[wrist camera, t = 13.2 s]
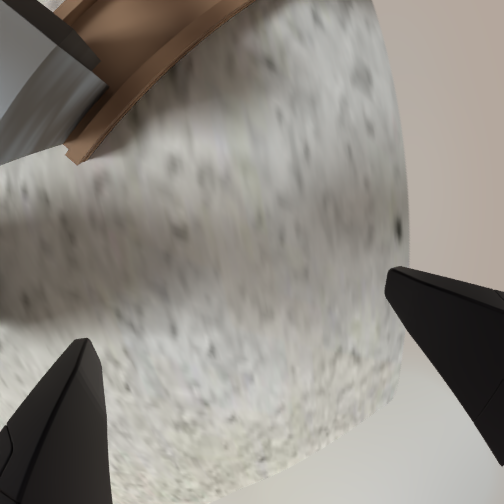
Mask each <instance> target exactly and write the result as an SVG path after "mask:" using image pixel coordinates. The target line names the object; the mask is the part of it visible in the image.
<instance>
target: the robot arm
mask: <svg viewBox="0 0 504 504" xmlns="http://www.w3.org/2000/svg"><path fill="white" fill-rule="evenodd" d="M385 297H386V299H387V300H388V302H389V303H390V305H391V306H392V308H393V309H394V311H395V312H396V314H397V316H398V317H399V319H400V320H401V322H402V323H403V325H404V326H405V328H406V330H407V331H408V332H409V334H410V335H411V336H412V338H413V339H414V340H415V342H416V343H417V344H418V346H419V347H420V348H421V349H422V351H423V352H424V353H425V355H426V356H427V357H428V359H429V360H430V362H431V363H432V364H433V366H434V367H435V368H436V370H437V371H438V372H439V374H440V375H441V377H442V378H443V379H444V381H445V382H446V383H447V385H448V386H449V388H450V389H451V390H452V392H453V393H454V395H455V396H456V397H457V399H458V400H459V402H460V403H461V405H462V406H463V408H464V409H465V411H466V412H467V414H468V415H469V417H470V418H471V420H472V421H473V422H474V424H475V426H476V427H477V429H478V430H479V432H480V434H481V435H482V437H483V438H484V440H485V442H486V443H487V445H488V446H489V448H490V450H491V451H492V453H493V454H494V456H495V458H496V459H497V461H498V463H499V464H500V465H501V466H503V465H504V292H501V291H498V290H493V289H490V288H486V287H482V286H478V285H475V284H471V283H467V282H463V281H459V280H455V279H451V278H447V277H443V276H439V275H435V274H431V273H427V272H423V271H419V270H414V269H410V268H406V267H402V266H398V267H394V268H391V269H390V270H389V271H388V273H387V279H386V285H385ZM0 504H113V503H112V494H111V485H110V473H109V460H108V440H107V414H106V405H105V396H104V386H103V375H102V366H101V362H100V359H99V357H98V355H97V353H96V351H95V349H94V347H93V344H92V342H91V341H90V339H88V338H81V339H76V340H74V341H73V342H72V343H71V344H70V345H69V347H68V348H67V349H66V350H65V351H64V352H63V354H62V355H61V356H60V357H59V358H58V359H57V361H56V362H55V363H54V364H53V365H52V367H51V368H50V369H49V370H48V371H47V373H46V374H45V375H44V376H43V377H42V379H41V380H40V381H39V382H38V384H37V385H36V386H35V387H34V389H33V390H32V391H31V392H30V394H29V395H28V396H27V397H26V399H25V400H24V401H23V402H22V404H21V405H20V406H19V408H18V409H17V410H16V412H15V413H14V414H13V415H12V417H11V418H10V419H9V421H8V422H7V425H5V426H4V427H3V429H2V430H1V432H0Z"/></svg>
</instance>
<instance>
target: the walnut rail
mask: <svg viewBox="0 0 504 504" xmlns="http://www.w3.org/2000/svg"><path fill="white" fill-rule="evenodd" d="M255 1H256V0H65V1H64V2H63V3H62V4H61V5H60V6H59V7H58V8H57V9H56V10H55V11H54V12H52V11H50V10H49V9H48V8H46V7H45V6H44V5H42V4H41V3H40V2H39V1H37V0H0V165H3V164H5V163H8V162H11V161H13V160H16V159H19V158H21V157H24V156H27V155H30V154H33V153H36V152H39V151H42V150H45V149H48V148H52V147H55V146H58V145H61V144H63V145H65V146H66V147H67V148H68V149H69V150H68V151H67V153H66V154H65V155H66V156H67V157H68V158H69V159H70V160H71V161H73V162H74V163H75V164H76V165H79V164H80V163H82V162H85V161H86V160H88V159H89V157H90V156H91V155H92V153H93V152H94V151H95V150H96V148H97V147H98V146H99V145H100V143H101V142H102V141H103V140H104V138H105V137H106V136H107V135H108V134H109V132H110V131H111V130H112V129H113V128H114V127H115V125H116V124H117V123H118V122H119V121H120V120H121V119H122V118H123V116H124V115H125V114H126V113H127V112H128V111H129V110H130V109H131V108H132V107H133V105H134V104H135V103H136V102H137V101H138V100H139V99H140V98H141V97H142V96H143V95H144V94H145V93H146V92H147V91H148V90H149V89H150V88H151V87H152V86H153V85H154V84H155V83H156V82H157V81H158V80H159V79H160V78H161V77H162V76H163V75H164V74H165V73H166V72H167V71H168V70H169V69H170V68H171V67H173V66H174V65H175V64H176V63H177V62H178V61H179V60H180V59H181V58H182V57H184V56H185V55H186V54H187V53H188V52H189V51H190V50H192V49H193V48H194V47H195V46H196V45H198V44H199V43H200V42H201V41H202V40H204V39H205V38H206V37H207V36H208V35H210V34H211V33H212V32H213V31H215V30H216V29H217V28H219V27H220V26H221V25H222V24H224V23H225V22H226V21H228V20H229V19H230V18H232V17H233V16H235V15H236V14H237V13H239V12H240V11H241V10H243V9H244V8H246V7H247V6H249V5H250V4H252V3H253V2H255Z"/></svg>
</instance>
